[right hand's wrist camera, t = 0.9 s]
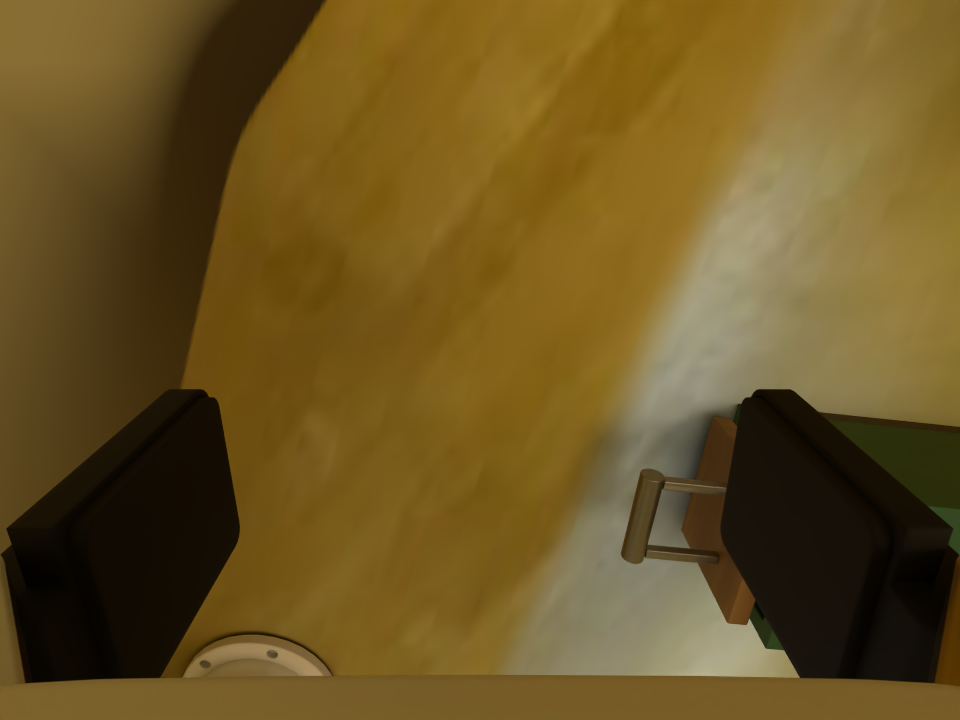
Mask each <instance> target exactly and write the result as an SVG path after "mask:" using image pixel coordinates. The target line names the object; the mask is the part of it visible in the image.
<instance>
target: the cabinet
mask: <svg viewBox="0 0 960 720" xmlns="http://www.w3.org/2000/svg"><path fill="white" fill-rule="evenodd" d="M740 408H741V404H738V409H737V412H736V416H735V419H734V423H735V425H736V426H738V420H739V414H740ZM820 414H821V415H822V416H823V417H824V418H826V419H827V420H828V421H829V422H830V423H831V424H833V425H834V426H835V427H836V428H837V429H838V430H840V431H841V432H842V433H843V434H844V435H845V436H847V437H848V438H849V439H850V440H851V441H852V442H854V443H855V444H856V445H857V446H858V447H859V448H861V449H862V450H863V451H864V452H865V453H866V454H868V455H869V456H870V457H871V458H872V459H873V460H874V461H876V462H877V463H878V464H879V465H880V466H881V467H883V468H884V469H885V470H886V471H887V472H888V473H890V474H891V475H892V476H893V477H894V478H895V479H897V480H898V481H899V482H900V483H901V484H902V485H904V486H905V487H906V488H907V489H908V490H909V491H911V492H912V493H913V494H914V495H915V496H916V497H917V498H919V499H920V500H921V501H922V502H923V503H924V504H926V505H927V506H928V507H929V508H930V509H931V510H933V511H934V512H935V513H936V514H937V515H938V516H940V517H941V518H942V519H943V520H944V521H945V522H947V523H948V524H949V525H950V526H951V527H952V528H954V529H953V532H952V535H951V538H950V540H949V543H948V545H949V546H950V547H951V548H953V549H954V550H955V551H956V552H957V553H958V554H959V555H960V427H952V426H943V425H933V424H924V423H914V422H905V421H895V420H886V419H876V418H867V417H857V416H847V415H838V414H828V413H820ZM749 618H750V620H751V622H752V624H753V626H754V627H755V629H756V631H757V633H758V635H759V637H760V639H761V641H762V643H763V644H764V646H765V648H766V649H777V650H784V649H783V647H782V645H781V644H780V642H779V640H778V638H777V637H776V635H775V633H774V631H773V630H772V628H771V626H770V625H769V623H768V621H767V619H766V618H765V616H764V614H763V612H762V611H761V609H760V607H759V605H758V604H757V602H756V600H755V603H754V606H753V609H752V612H751V614H750V617H749Z"/></svg>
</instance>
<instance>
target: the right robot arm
mask: <svg viewBox="0 0 960 720" xmlns="http://www.w3.org/2000/svg"><path fill="white" fill-rule="evenodd" d="M953 529H954V528H952V527H951V526H950V525H949V524H948V523H947V522H945V521H944V520H943V519H942V518H941V517H940V516H938V515H937V514H936V513H935V512H934V511H933V510H931V509H930V508H929V507H928V506H927V505H926V504H924V503H923V502H922V501H921V500H920V499H919V498H917V497H916V496H915V495H914V494H913V493H912V492H911V491H909V490H908V489H907V488H906V487H905V486H904V485H902V484H901V483H900V482H899V481H898V480H897V479H895V478H894V477H893V476H892V475H891V474H890V473H888V472H887V471H886V470H885V469H884V468H883V467H881V466H880V465H879V464H878V463H877V462H876V461H874V460H873V459H872V458H871V457H870V456H869V455H868V454H866V453H865V452H864V451H863V450H862V449H861V448H859V447H858V446H857V445H856V444H855V443H854V442H852V441H851V440H850V439H849V438H848V437H847V436H845V435H844V434H843V433H842V432H841V431H840V430H838V429H837V428H836V427H835V426H834V425H833V424H831V423H830V422H829V421H828V420H827V419H826V418H824V417H823V416H822V415H821V414H820V413H819V412H818V411H816V410H815V409H814V408H813V407H812V406H811V405H809V404H808V403H807V402H806V401H805V400H804V399H802V398H801V397H800V396H799V395H798V394H797V393H795V392H794V391H792V390H791V389H759V390H756V391H755V392H754V393H753V395H752V396H751V397H747V398H745V399H744V400H743V402H742V404H741V408H740V414H739V420H738V426H737V431H736V437H735V443H734V449H733V454H732V460H731V466H730V472H729V477H728V483H727V489H726V495H725V500H724V506H723V512H722V518H721V524H720V532H721V538H722V542H723V544H724V546H725V548H726V550H727V552H728V553H729V555H730V557H731V558H732V560H733V562H734V564H735V565H736V567H737V569H738V571H739V572H740V574H741V576H742V578H743V579H744V581H745V583H746V585H747V586H748V588H749V590H750V591H751V593H752V595H753V597H754V598H755V600H756V602H757V604H758V605H759V607H760V609H761V611H762V612H763V614H764V616H765V618H766V619H767V621H768V623H769V625H770V626H771V628H772V630H773V631H774V633H775V635H776V637H777V638H778V640H779V642H780V644H781V645H782V647H783V649H784V651H785V652H786V654H787V656H788V658H789V659H790V661H791V663H792V665H793V666H794V668H795V670H796V671H797V673H798V675H799V677H800V678H770V677H718V676H569V675H391V676H332V675H331V673H330V672H329V670H328V669H327V668H326V666H325V665H324V664H323V663H322V662H321V661H320V660H319V659H318V658H317V657H316V656H315V655H313V654H312V653H310V652H309V651H307V650H306V649H304V648H303V647H301V646H298V645H296V644H294V643H292V642H290V641H287V640H283V639H280V638H276V637H272V636H265V635H239V636H232V637H228V638H224V639H221V640H218V641H216V642H214V643H212V644H210V645H208V646H206V647H205V648H203V649H202V650H201V651H200V652H199V653H198V654H196V655H195V657H194V658H193V659H192V661H191V662H190V664H189V665H188V667H187V669H186V671H185V673H184V675H183V677H182V678H160V677H161V675H162V673H163V671H164V670H165V668H166V666H167V665H168V663H169V661H170V659H171V658H172V656H173V654H174V652H175V651H176V649H177V647H178V645H179V644H180V642H181V640H182V638H183V637H184V635H185V633H186V631H187V630H188V628H189V626H190V625H191V623H192V621H193V619H194V618H195V616H196V614H197V612H198V611H199V609H200V607H201V605H202V604H203V602H204V600H205V598H206V597H207V595H208V593H209V591H210V590H211V588H212V586H213V585H214V583H215V581H216V579H217V578H218V576H219V574H220V572H221V571H222V569H223V567H224V565H225V564H226V562H227V560H228V558H229V557H230V555H231V553H232V552H233V550H234V548H235V546H236V544H237V542H238V538H239V532H240V524H239V518H238V512H237V506H236V500H235V495H234V489H233V483H232V477H231V472H230V466H229V460H228V454H227V449H226V443H225V437H224V431H223V426H222V420H221V414H220V408H219V404H218V402H217V400H216V399H215V398H213V397H209V396H208V395H207V393H206V392H205V391H204V390H201V389H170V390H168V391H166V392H165V393H163V394H162V395H161V396H160V397H159V398H158V399H156V400H155V401H154V402H153V403H152V404H151V405H149V406H148V407H147V408H146V409H145V410H144V411H143V412H141V413H140V414H139V415H138V416H137V417H136V418H134V419H133V420H132V421H131V422H130V423H129V424H127V425H126V426H125V427H124V428H123V429H122V430H120V431H119V432H118V433H117V434H116V435H115V436H113V437H112V438H111V439H110V440H109V441H108V442H106V443H105V444H104V445H103V446H102V447H101V448H99V449H98V450H97V451H96V452H95V453H94V454H93V455H91V456H90V457H89V458H88V459H87V460H86V461H84V462H83V463H82V464H81V465H80V466H79V467H77V468H76V469H75V470H74V471H73V472H72V473H70V474H69V475H68V476H67V477H66V478H65V479H63V480H62V481H61V482H60V483H59V484H58V485H56V486H55V487H54V488H53V489H52V490H51V491H49V492H48V493H47V494H46V495H45V496H44V497H43V498H41V499H40V500H39V501H38V502H37V503H36V504H34V505H33V506H32V507H31V508H30V509H29V510H27V511H26V512H25V513H24V514H23V515H22V516H20V517H19V518H18V519H17V520H16V521H15V522H13V523H12V524H11V525H10V526H9V527H8V528H7V532H8V535H9V538H10V540H11V543H12V545H11V546H10V547H9V548H7V549H6V550H5V551H4V552H3V553H2V554H1V555H0V720H960V555H959V554H958V553H957V552H956V551H955V550H954V549H953V548H951V547H950V546H949V545H948V543H949V540H950V538H951V535H952V532H953Z"/></svg>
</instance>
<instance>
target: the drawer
mask: <svg viewBox="0 0 960 720" xmlns="http://www.w3.org/2000/svg"><path fill="white" fill-rule="evenodd" d="M736 431H737V426H736V425H735V423H734V422H733V421H732V420H731V419H730V418H723V417H713V419H712V422H711V426H710V430H709V433H708V437H707V440H706V444H705V447H704V451H703V454H702V458H701V461H700V465H699V469H698V472H697V476H696V479H695V480H692V479H682V478H672V477H664V475H663V474H662V473H660V472H659V471H656V470H653V469H643V470H642V471H641V472H640V477H639V481H638V485H637V489H636V493H635V497H634V501H633V505H632V510H631V514H630V518H629V522H628V526H627V530H626V534H625V538H624V542H623V547H622V551H621V556H622V557H623V559H624V560H626V561H627V562H630V563H633V564H639V563H641V562H642V561H643V560H644V556H645V558H653V559H664V560H674V561H685V562H696V563H698V565H699V567H700V569H701V571H702V573H703V575H704V577H705V579H706V581H707V583H708V585H709V587H710V589H711V591H712V593H713V595H714V597H715V599H716V601H717V603H718V605H719V607H720V609H721V611H722V613H723V615H724V617H725V619H726V621H727V623H730V624H741V625H747V623H748V620H749V617H750V614H751V612H752V609H753V606H754V603H755V598H754V597H753V595H752V593H751V591H750V590H749V588H748V586H747V585H746V583H745V581H744V579H743V578H742V576H741V574H740V572H739V571H738V569H737V567H736V565H735V564H734V562H733V560H732V558H731V557H730V555H729V553H728V552H727V550H726V548H725V546H724V544H723V542H722V538H721V532H720V524H721V518H722V512H723V506H724V500H725V495H726V489H727V483H728V477H729V472H730V466H731V460H732V454H733V449H734V443H735V437H736ZM662 489H663V490H669V491H680V492H690V493H691V497H690V500H689V504H688V508H687V511H686V515H685V518H684V522H683V525H682V529H681V530H682V532H683V534H684V536H685V538H686V540H687V542H688V545H689V547H690V549H687V548H677V547H666V546H655V545H647V544H648V540H649V537H650V533H651V529H652V525H653V521H654V517H655V514H656V510H657V506H658V502H659V498H660V494H661V490H662Z"/></svg>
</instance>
